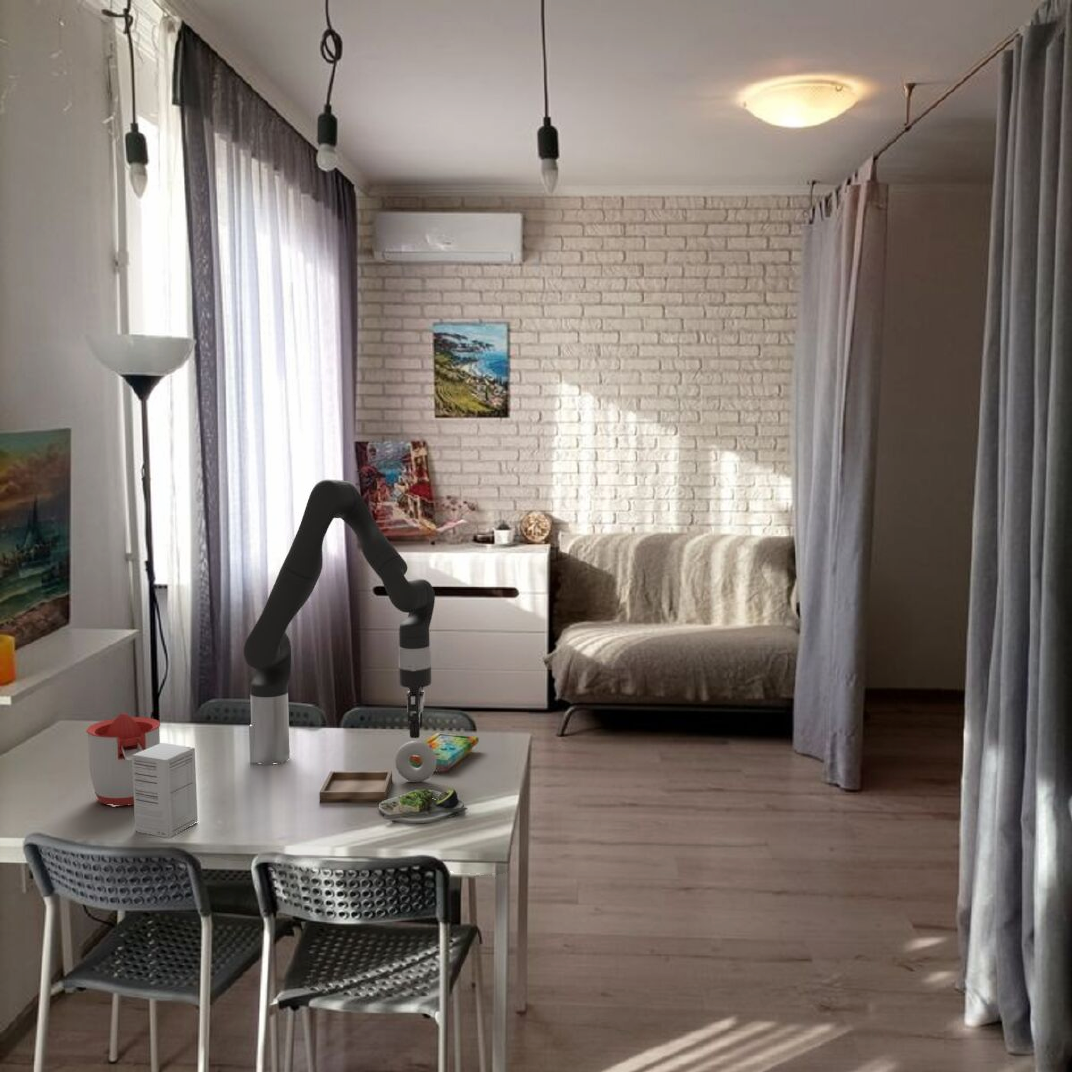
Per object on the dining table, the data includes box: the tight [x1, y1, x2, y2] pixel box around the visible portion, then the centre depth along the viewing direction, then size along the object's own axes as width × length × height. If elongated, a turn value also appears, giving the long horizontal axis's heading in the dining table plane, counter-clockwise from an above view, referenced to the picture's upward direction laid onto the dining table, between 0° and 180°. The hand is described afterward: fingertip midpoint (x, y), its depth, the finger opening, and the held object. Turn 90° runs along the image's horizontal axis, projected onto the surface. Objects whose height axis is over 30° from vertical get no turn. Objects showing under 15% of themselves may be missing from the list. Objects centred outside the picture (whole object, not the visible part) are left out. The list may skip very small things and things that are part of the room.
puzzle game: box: [409, 732, 480, 772], centre depth 288 cm, size 12×5×20 cm
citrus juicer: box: [86, 712, 161, 806], centre depth 257 cm, size 16×17×20 cm
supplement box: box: [132, 742, 199, 839], centre depth 241 cm, size 10×9×17 cm
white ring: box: [394, 740, 437, 783], centre depth 270 cm, size 10×4×10 cm, turn 80°
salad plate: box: [377, 788, 469, 824], centre depth 251 cm, size 19×18×5 cm
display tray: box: [319, 770, 393, 804], centre depth 264 cm, size 15×15×2 cm
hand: (416, 732), depth 270 cm, fingers open, 8 cm apart
